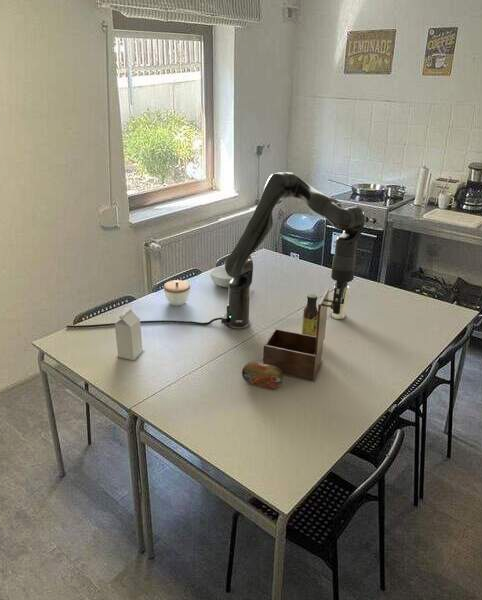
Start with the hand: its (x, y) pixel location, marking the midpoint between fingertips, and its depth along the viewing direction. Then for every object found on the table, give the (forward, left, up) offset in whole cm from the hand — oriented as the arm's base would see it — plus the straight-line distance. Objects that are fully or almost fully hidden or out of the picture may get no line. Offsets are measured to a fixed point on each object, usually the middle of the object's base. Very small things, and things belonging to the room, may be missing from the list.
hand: (338, 308), depth 172 cm
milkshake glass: (-6, +48, -28) cm, 56 cm away
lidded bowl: (-81, +32, -28) cm, 91 cm away
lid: (-6, 0, -6) cm, 9 cm away
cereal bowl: (-67, +61, -28) cm, 95 cm away
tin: (-22, -16, -28) cm, 39 cm away
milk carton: (-77, -17, -28) cm, 84 cm away
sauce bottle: (-14, +23, -28) cm, 39 cm away
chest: (-15, 0, -28) cm, 32 cm away
